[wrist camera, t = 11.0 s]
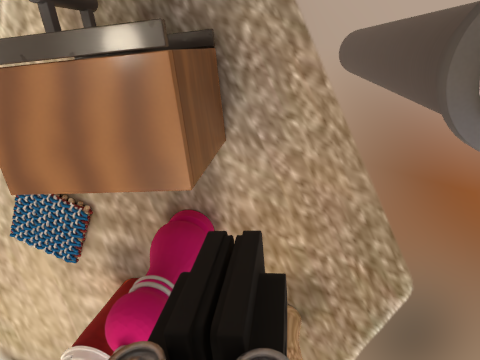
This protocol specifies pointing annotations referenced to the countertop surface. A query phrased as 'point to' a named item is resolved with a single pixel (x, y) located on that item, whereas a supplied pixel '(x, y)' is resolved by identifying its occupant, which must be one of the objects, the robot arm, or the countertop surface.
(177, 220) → the pepper mill
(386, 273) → the countertop surface
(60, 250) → the woven mat
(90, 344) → the paper cup
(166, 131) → the cabinet
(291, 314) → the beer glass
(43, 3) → the sliding door
